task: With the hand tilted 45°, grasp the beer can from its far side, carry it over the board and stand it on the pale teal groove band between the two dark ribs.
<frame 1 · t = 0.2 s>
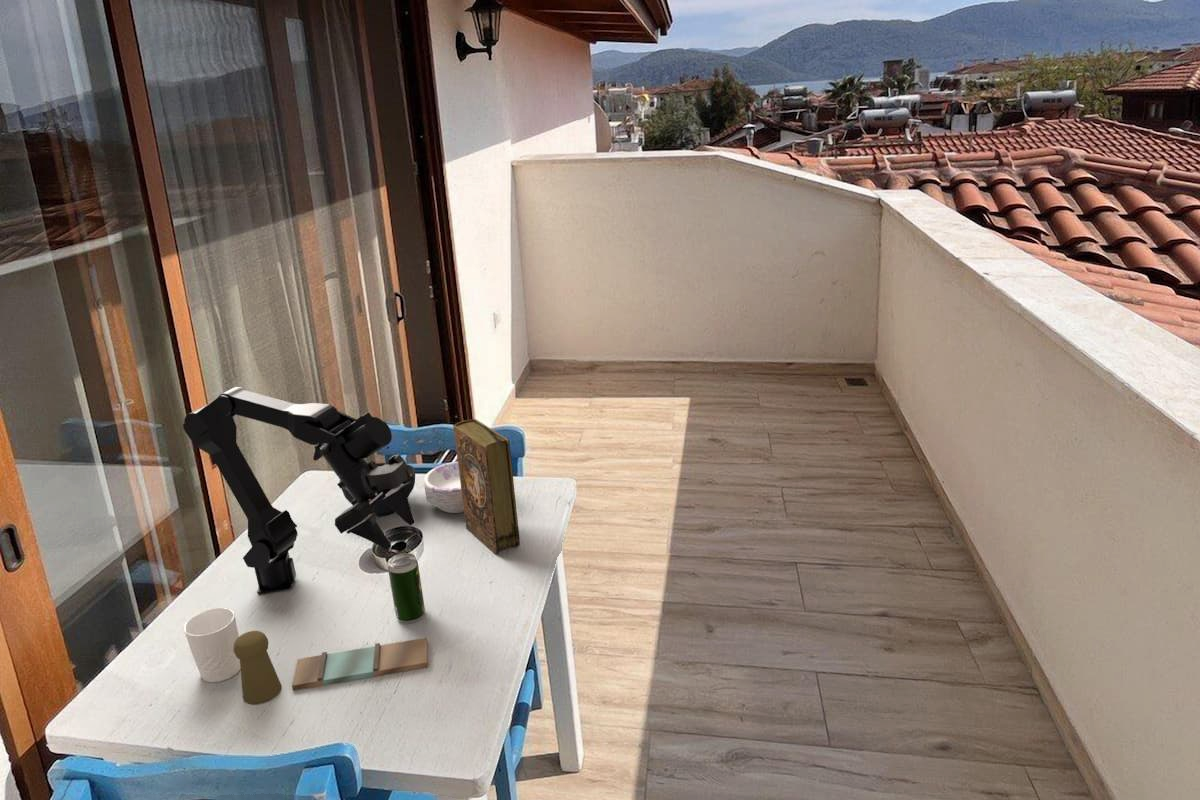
hand: (401, 535, 152), 15 cm above the table, tool tilted 30°, fingers open, 9 cm apart
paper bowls: (460, 504, 195), on the table
white cup: (222, 670, 141), on the table
cork: (262, 693, 135), on the table
board: (362, 665, 140), on the table
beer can: (411, 616, 153), on the table
bowl: (383, 509, 194), on the table
book: (491, 538, 179), on the table
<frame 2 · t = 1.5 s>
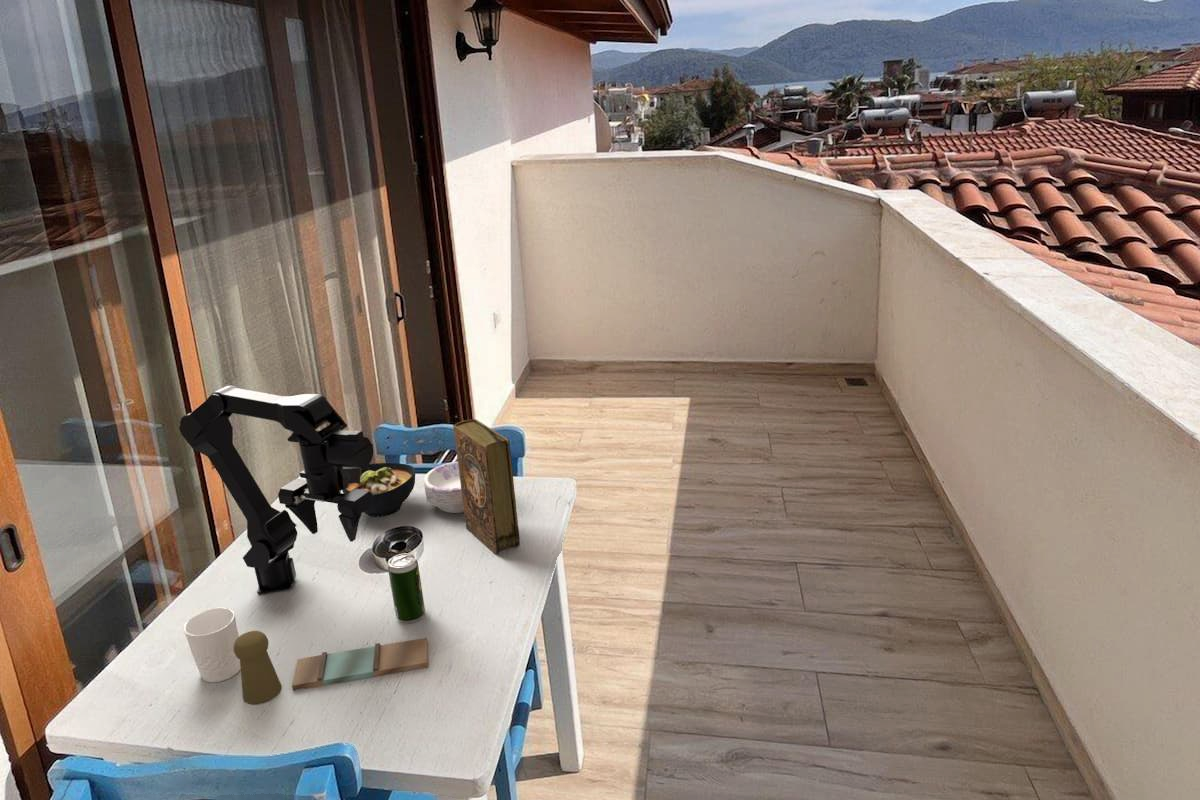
hand: (333, 536, 157), 13 cm above the table, tool pointing down, fingers open, 9 cm apart
nothing on the table moved.
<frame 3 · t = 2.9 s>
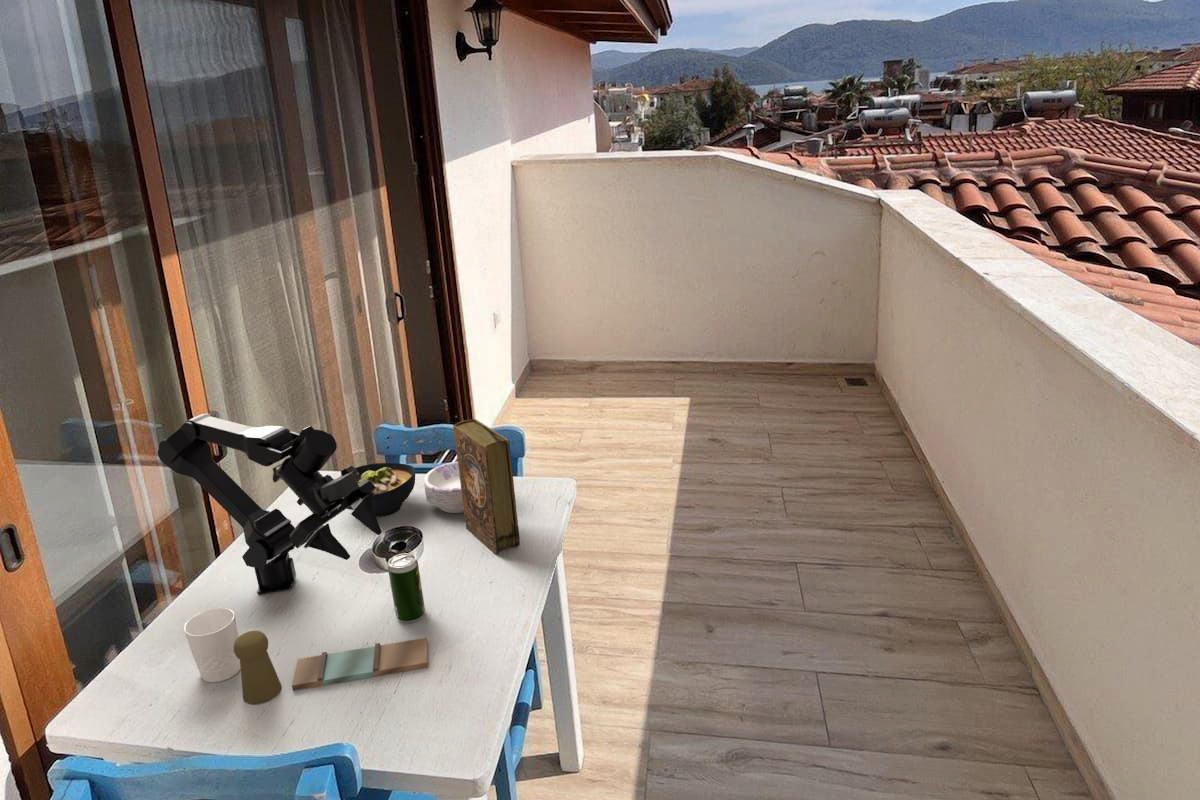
hand: (365, 545, 152), 13 cm above the table, tool tilted 45°, fingers open, 9 cm apart
nothing on the table moved.
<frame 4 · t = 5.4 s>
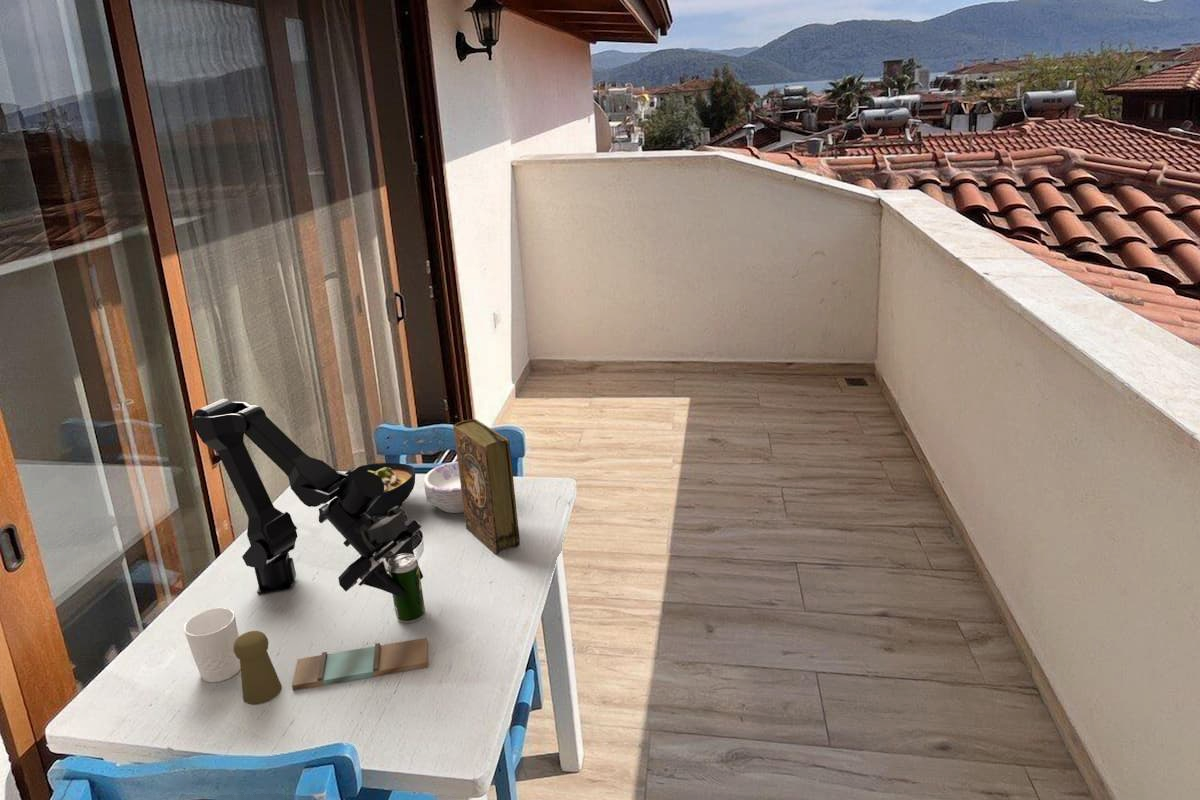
hand: (412, 587, 150), 7 cm above the table, tool tilted 45°, fingers closed on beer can, 5 cm apart
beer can: (411, 616, 153), on the table, touching gripper
everything else where it was.
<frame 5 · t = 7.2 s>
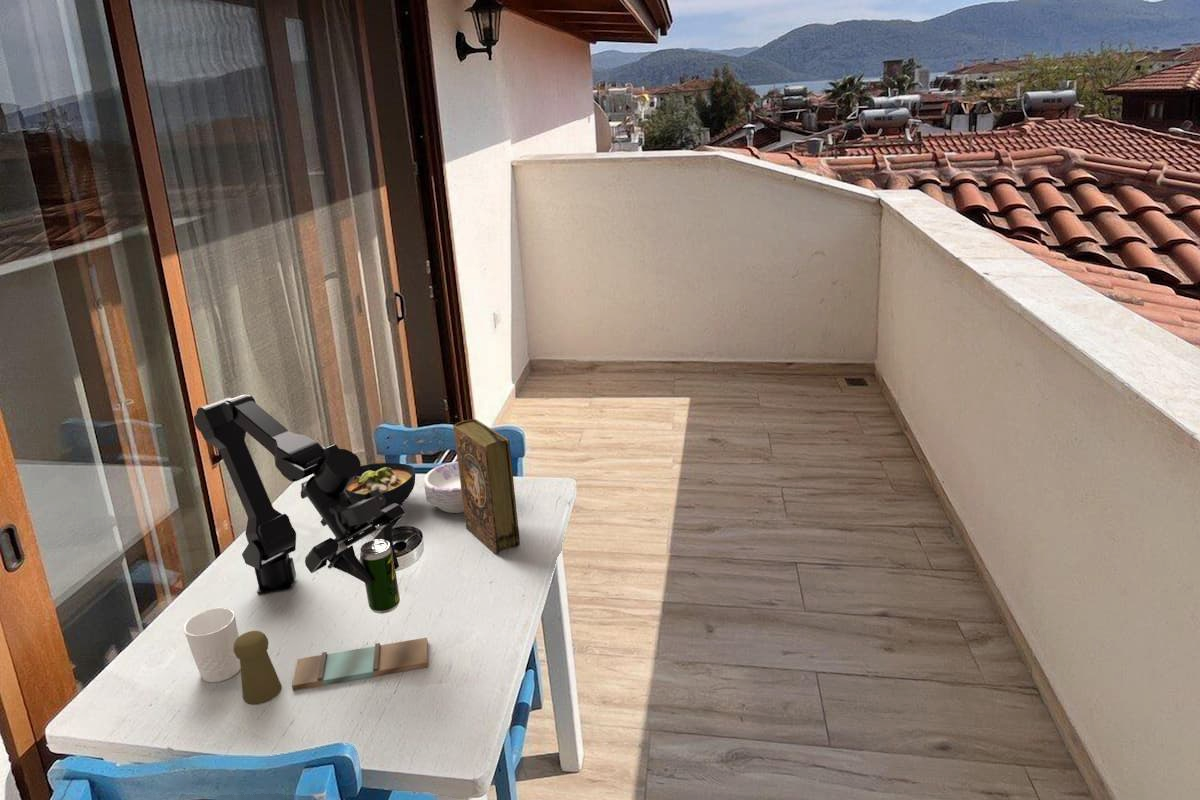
hand: (384, 575, 142), 13 cm above the table, tool tilted 45°, fingers closed on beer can, 5 cm apart
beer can: (385, 606, 145), point 7 cm above the table, touching gripper
everything else where it was.
when the fingers open (8 cm above the table, at t = 9.2 s): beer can stays where it is, resting on board.
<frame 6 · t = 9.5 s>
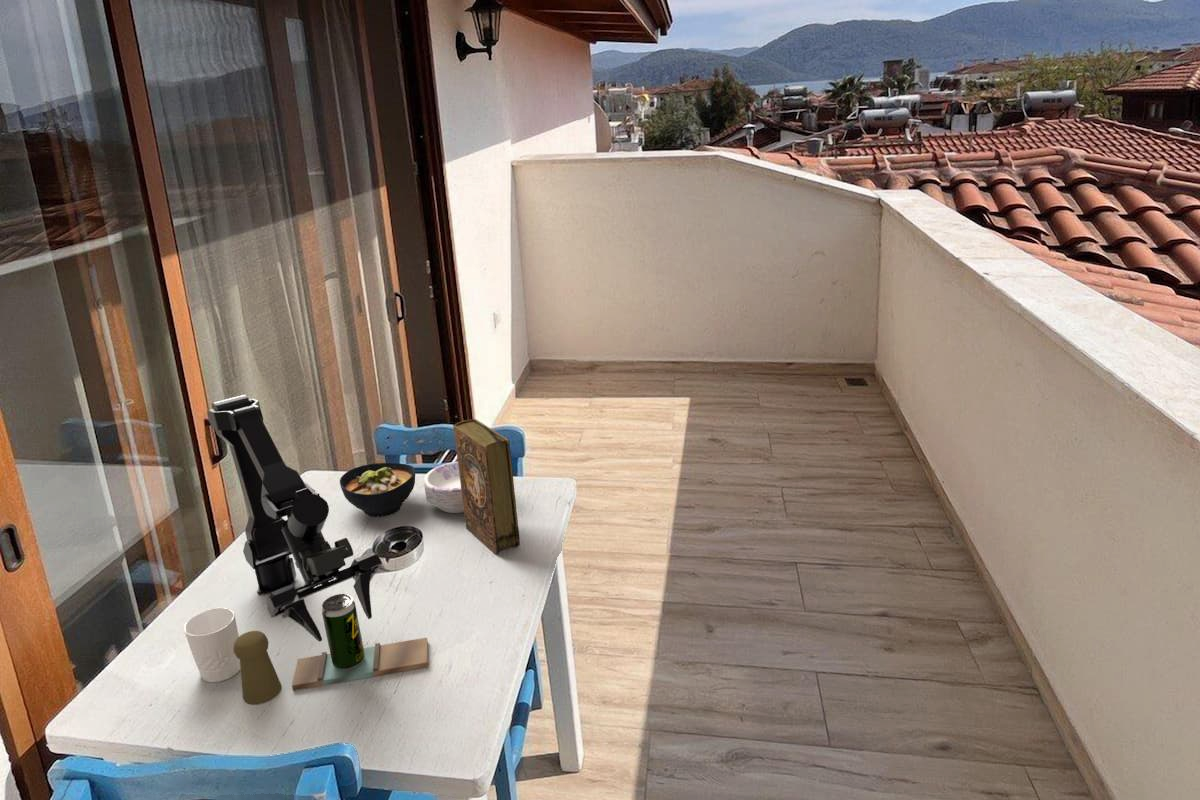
hand: (346, 629, 136), 9 cm above the table, tool tilted 45°, fingers open, 8 cm apart
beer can: (349, 663, 140), point 1 cm above the table, touching board
everything else where it was.
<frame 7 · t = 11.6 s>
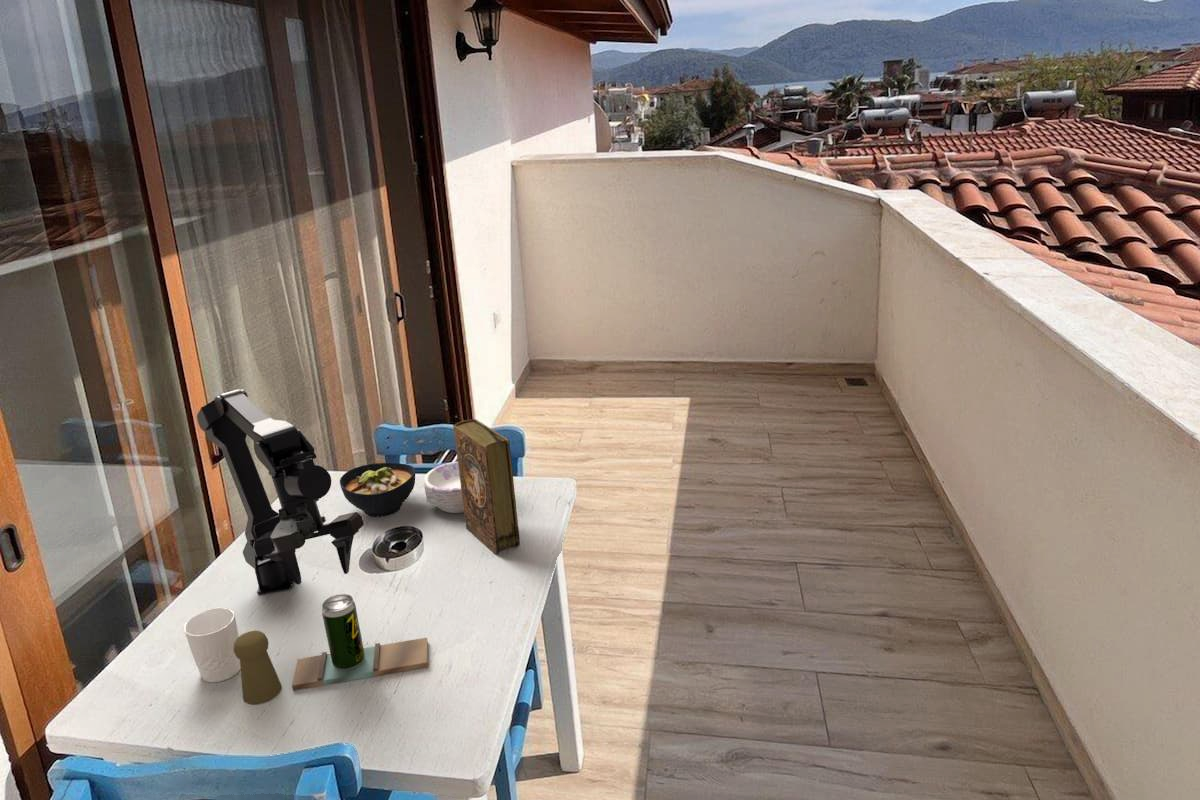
hand: (323, 578, 147), 11 cm above the table, tool tilted 15°, fingers open, 9 cm apart
nothing on the table moved.
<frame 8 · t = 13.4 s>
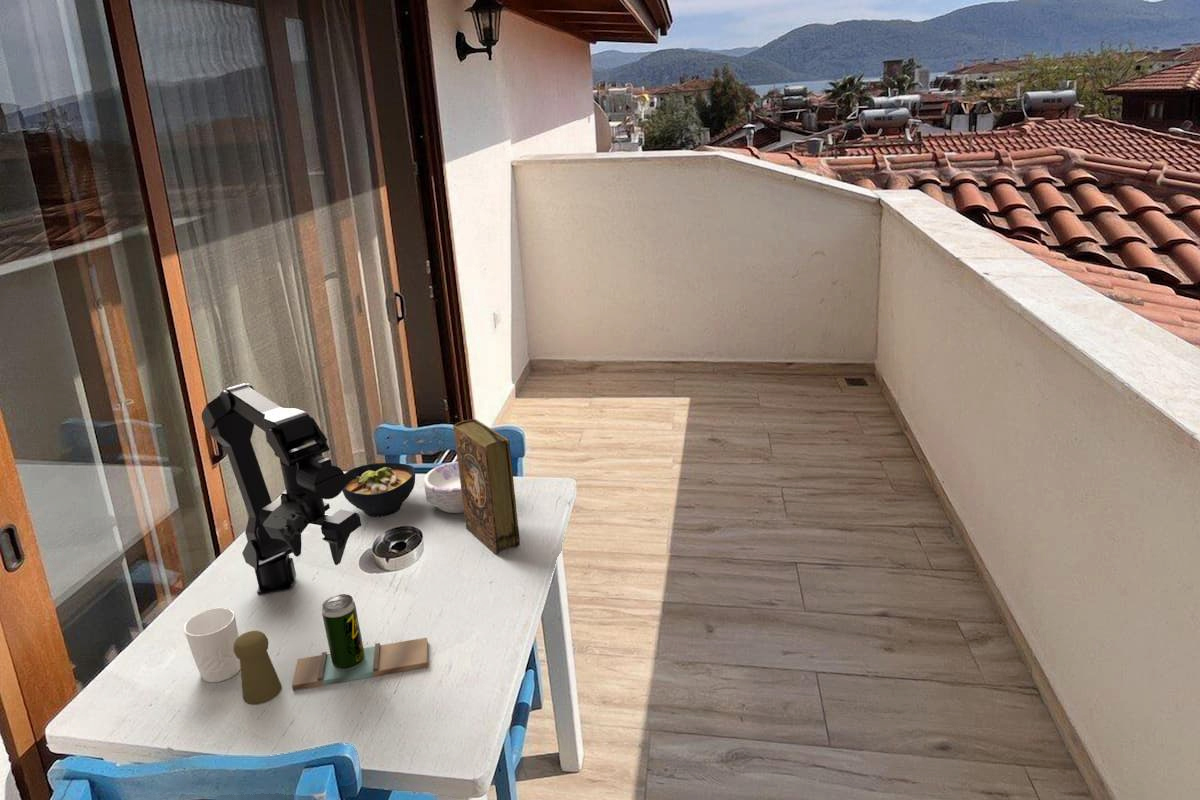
hand: (317, 559, 149), 13 cm above the table, tool pointing down, fingers open, 9 cm apart
nothing on the table moved.
at the end: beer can inside the target area on the board (0.2 cm from its centre), point 0.8 cm above the board's base; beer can tilted 0°; the gripper is holding nothing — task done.
